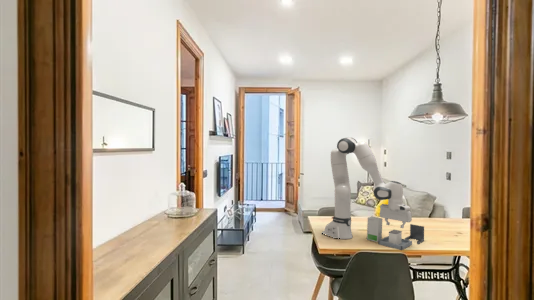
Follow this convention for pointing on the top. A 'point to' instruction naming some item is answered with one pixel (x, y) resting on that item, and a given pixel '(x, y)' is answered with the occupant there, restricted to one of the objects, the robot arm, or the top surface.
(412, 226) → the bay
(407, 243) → the tray
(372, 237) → the skincare box
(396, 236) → the caddy
